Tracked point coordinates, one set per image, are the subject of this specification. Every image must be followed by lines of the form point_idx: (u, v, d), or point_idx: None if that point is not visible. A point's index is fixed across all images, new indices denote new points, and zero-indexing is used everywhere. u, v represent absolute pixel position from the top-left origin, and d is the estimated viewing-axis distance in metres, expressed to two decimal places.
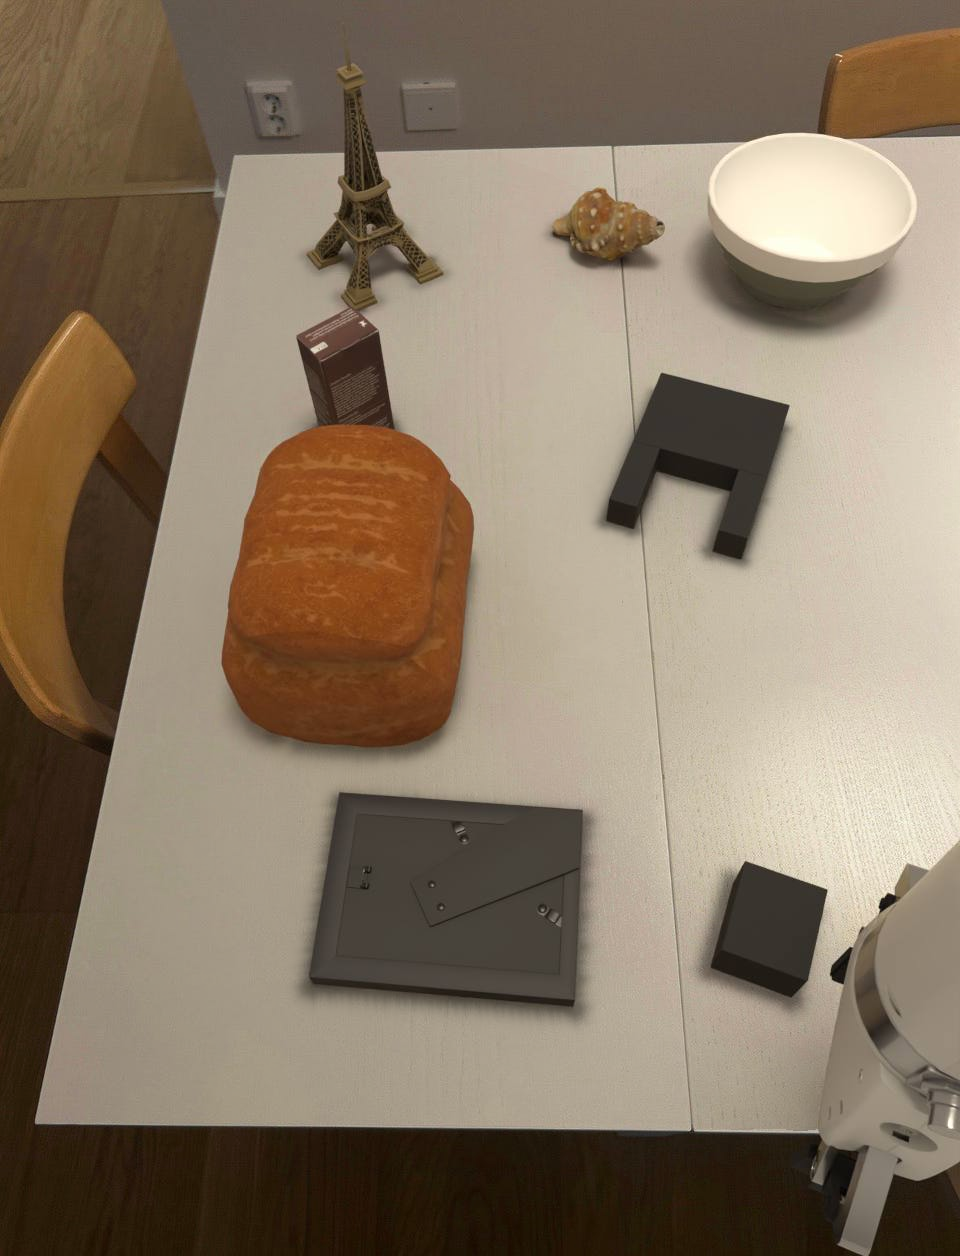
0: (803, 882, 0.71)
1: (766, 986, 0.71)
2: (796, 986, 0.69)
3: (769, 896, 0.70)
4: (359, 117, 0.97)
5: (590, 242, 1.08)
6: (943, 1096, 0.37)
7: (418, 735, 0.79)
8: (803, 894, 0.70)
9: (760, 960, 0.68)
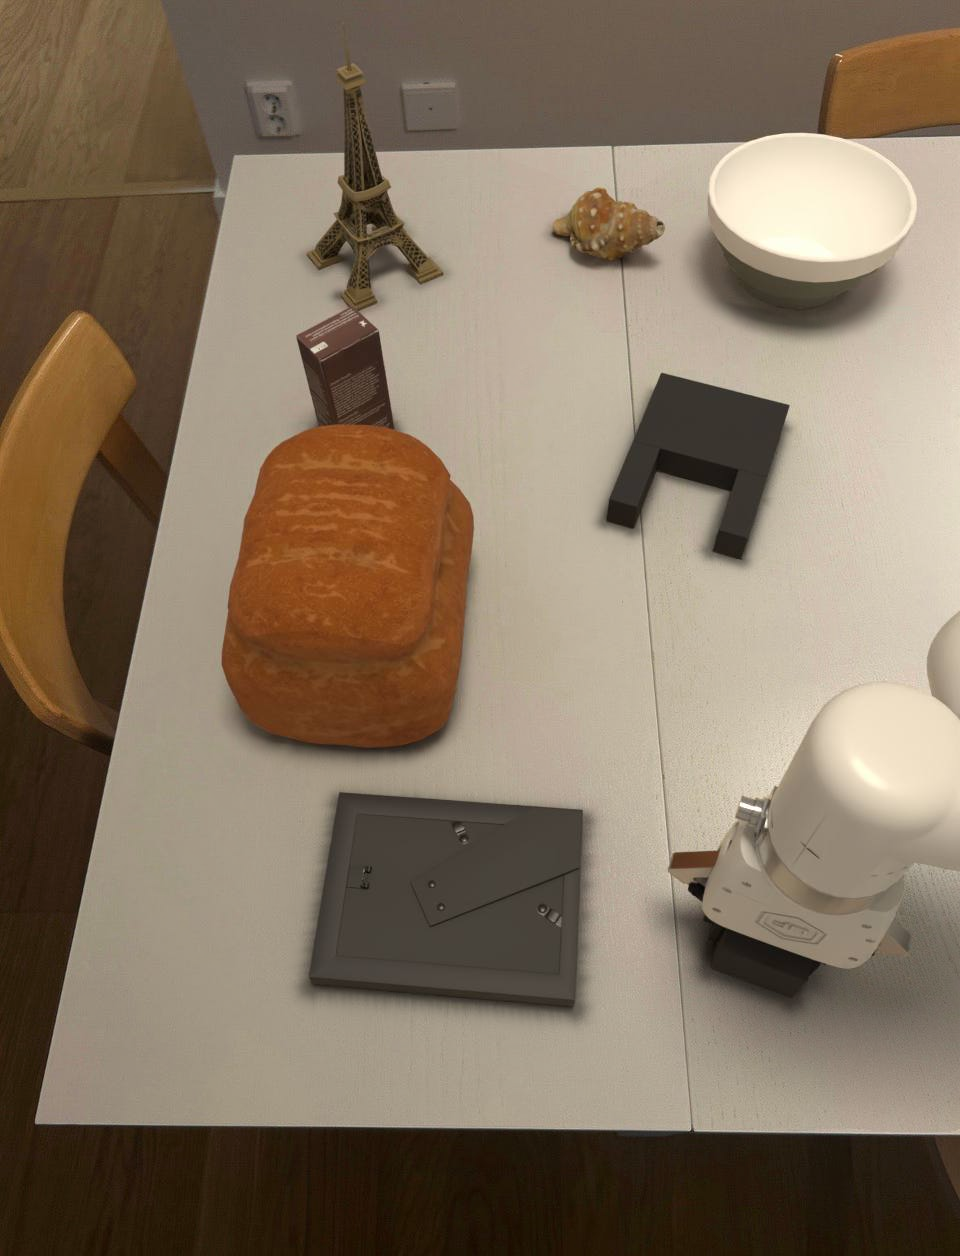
0: None
1: (766, 986, 0.71)
2: (796, 986, 0.69)
3: None
4: (359, 117, 0.97)
5: (590, 242, 1.08)
6: (760, 800, 0.58)
7: (418, 735, 0.79)
8: None
9: (760, 960, 0.68)
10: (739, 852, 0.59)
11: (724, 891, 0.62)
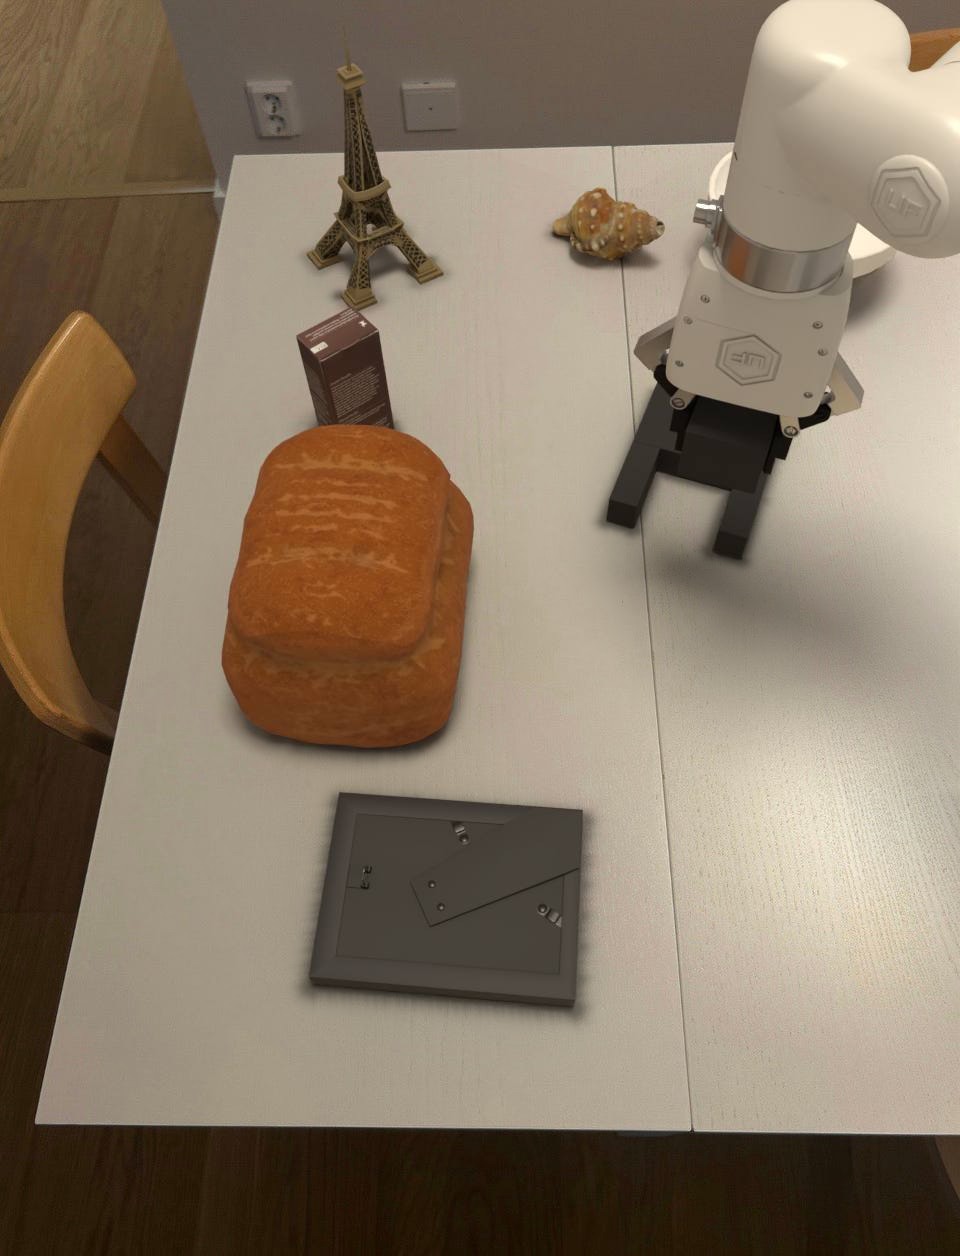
0: None
1: (729, 483, 0.74)
2: (757, 468, 0.72)
3: None
4: (359, 117, 0.97)
5: (590, 242, 1.08)
6: None
7: (418, 735, 0.79)
8: None
9: (722, 437, 0.71)
10: (697, 262, 0.63)
11: (685, 324, 0.65)
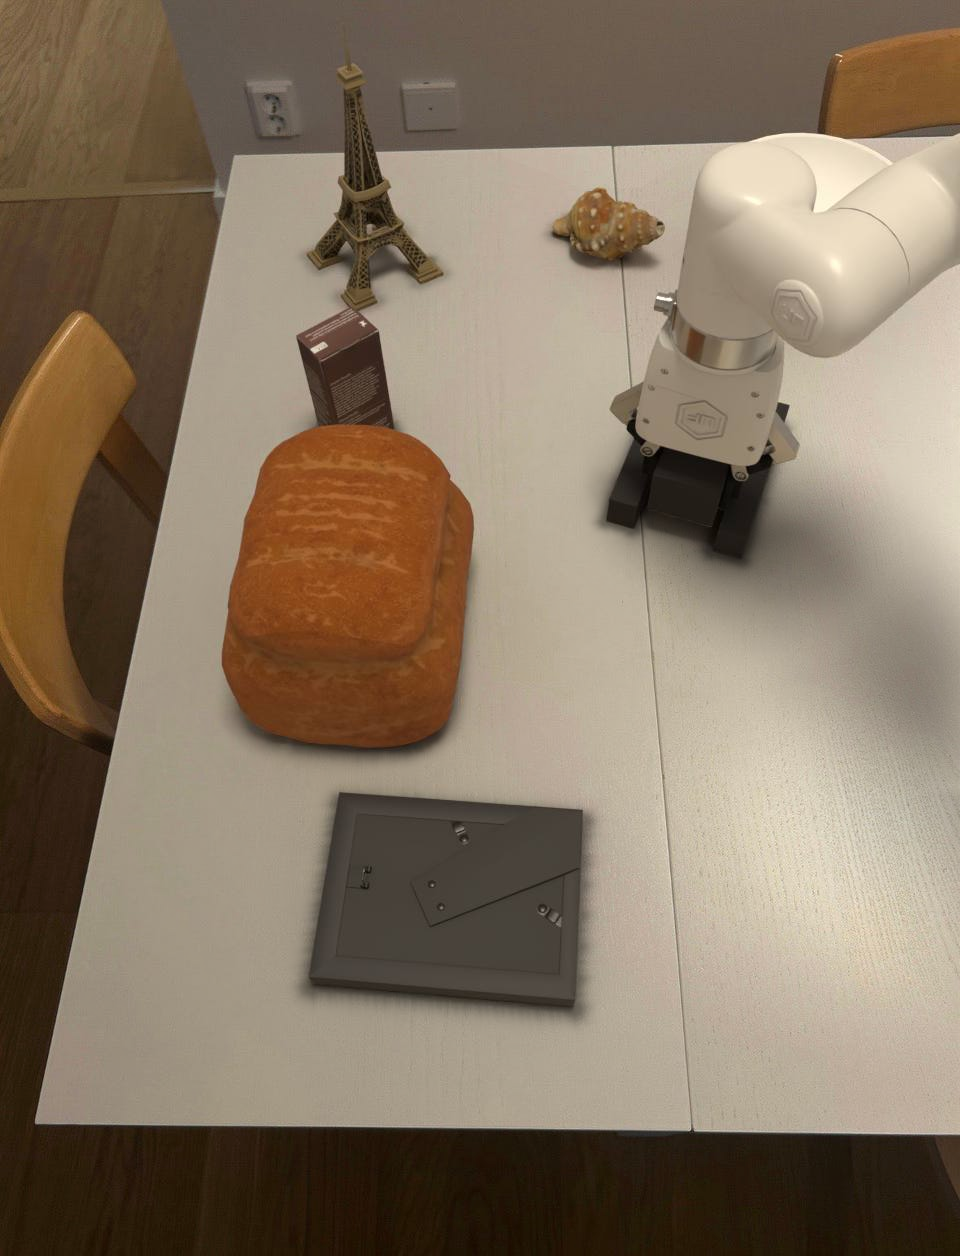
0: None
1: (691, 518, 0.89)
2: (712, 505, 0.86)
3: None
4: (359, 117, 0.97)
5: (590, 242, 1.08)
6: (672, 293, 0.76)
7: (418, 735, 0.79)
8: None
9: (683, 480, 0.86)
10: (658, 342, 0.77)
11: (649, 391, 0.80)
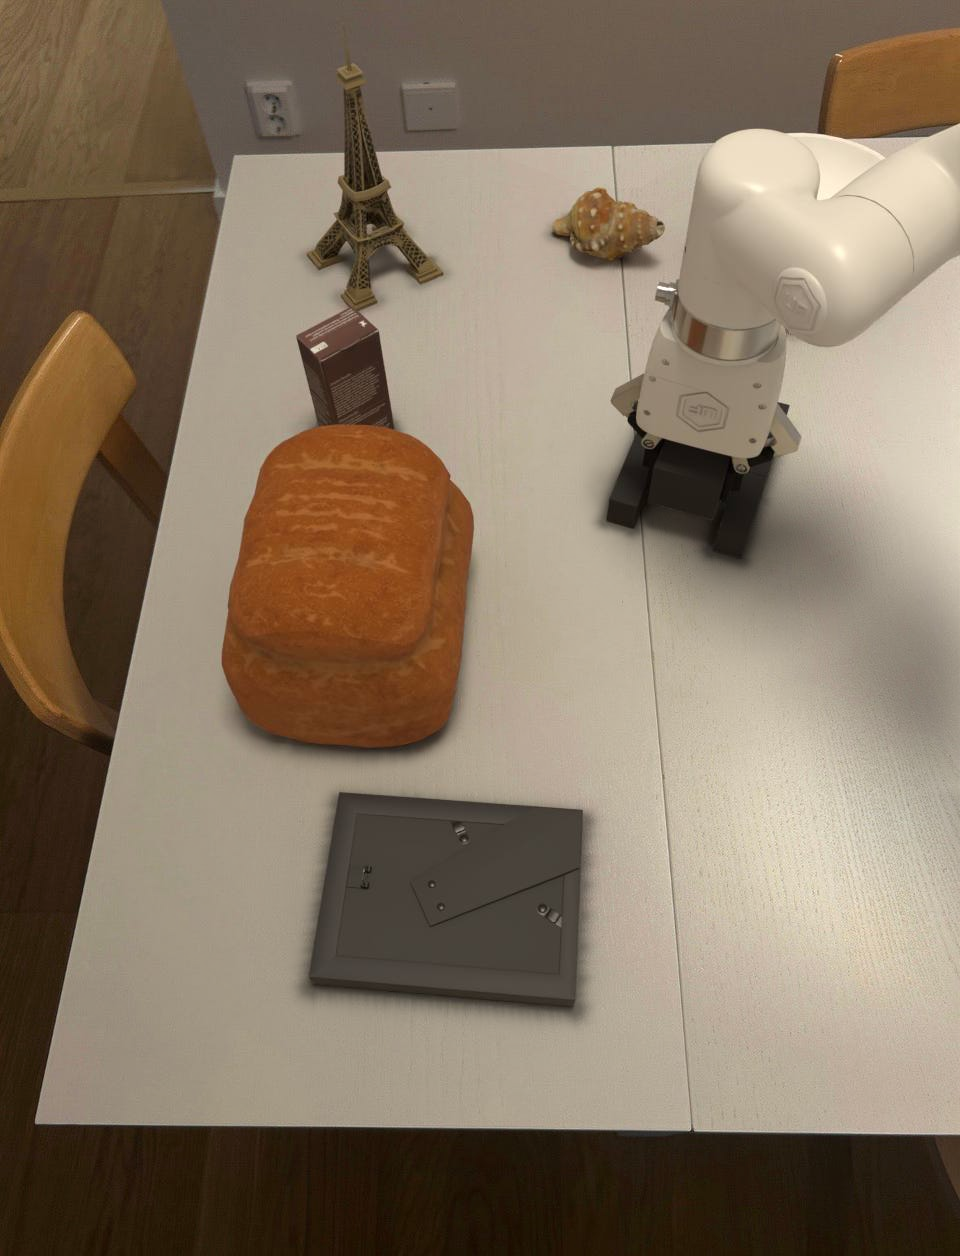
0: None
1: (691, 511, 0.88)
2: (713, 498, 0.86)
3: None
4: (359, 117, 0.97)
5: (590, 242, 1.08)
6: (673, 283, 0.75)
7: (418, 735, 0.79)
8: None
9: (684, 473, 0.85)
10: (659, 332, 0.76)
11: (650, 382, 0.79)
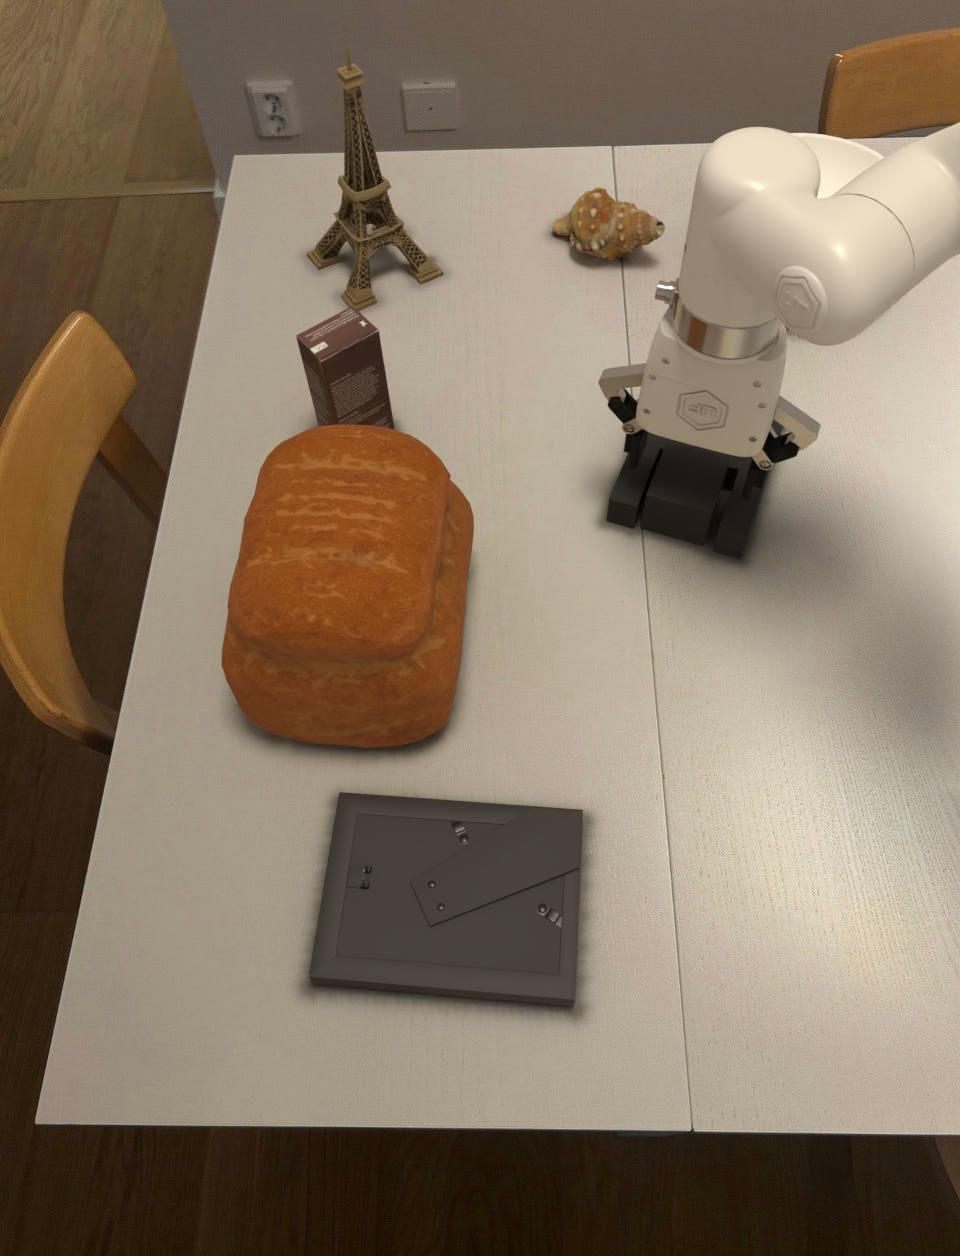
0: (711, 453, 0.91)
1: (683, 536, 0.91)
2: (704, 525, 0.89)
3: (684, 462, 0.90)
4: (359, 117, 0.97)
5: (590, 242, 1.08)
6: (673, 281, 0.75)
7: (418, 735, 0.79)
8: (710, 461, 0.90)
9: (676, 501, 0.88)
10: (659, 331, 0.76)
11: (650, 380, 0.79)
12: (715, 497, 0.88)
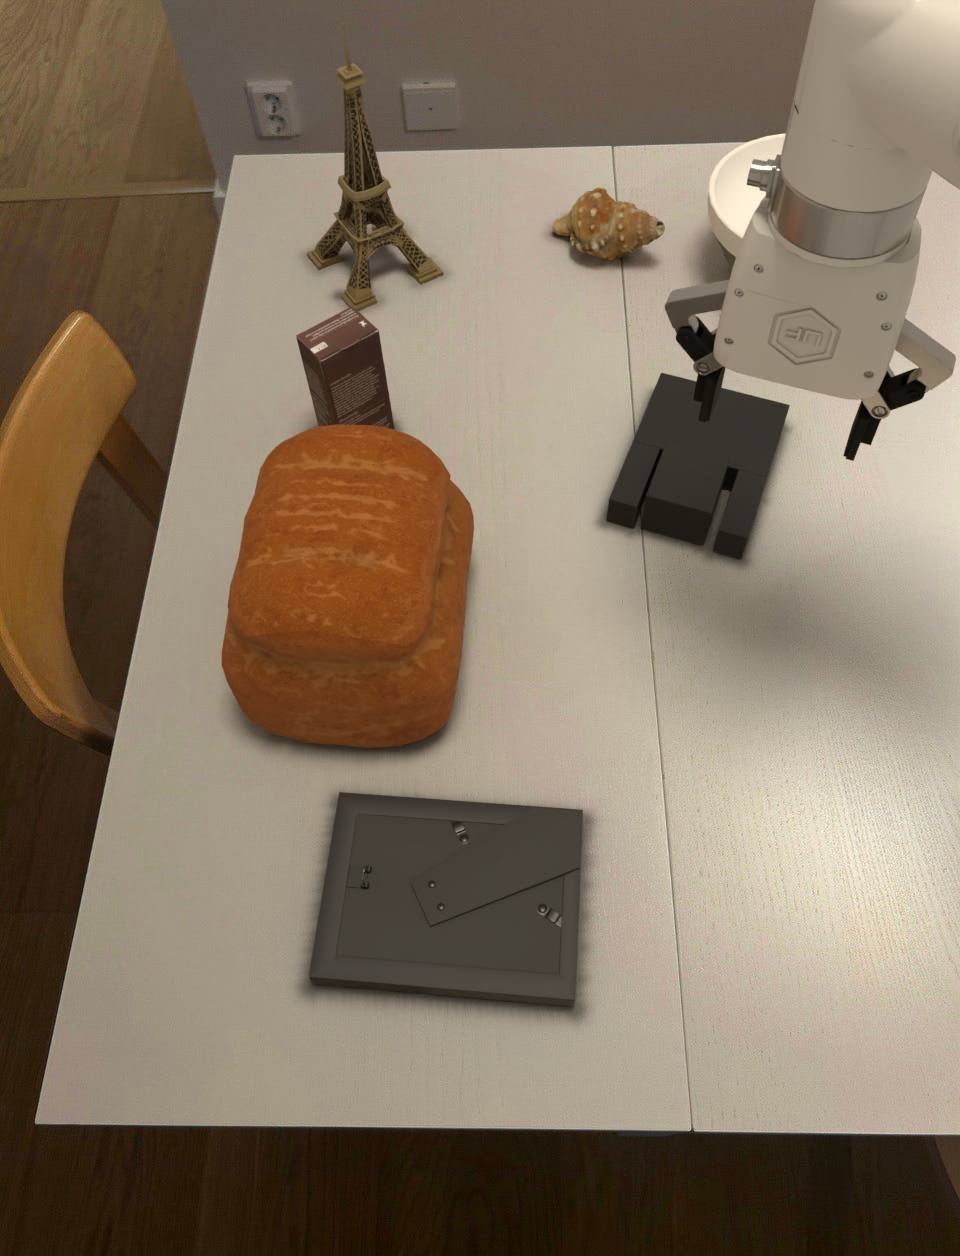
0: (711, 453, 0.91)
1: (683, 536, 0.91)
2: (704, 525, 0.89)
3: (684, 462, 0.90)
4: (359, 117, 0.97)
5: (590, 242, 1.08)
6: (772, 160, 0.57)
7: (418, 735, 0.79)
8: (710, 461, 0.90)
9: (676, 501, 0.88)
10: (751, 228, 0.58)
11: (736, 297, 0.61)
12: (715, 497, 0.88)
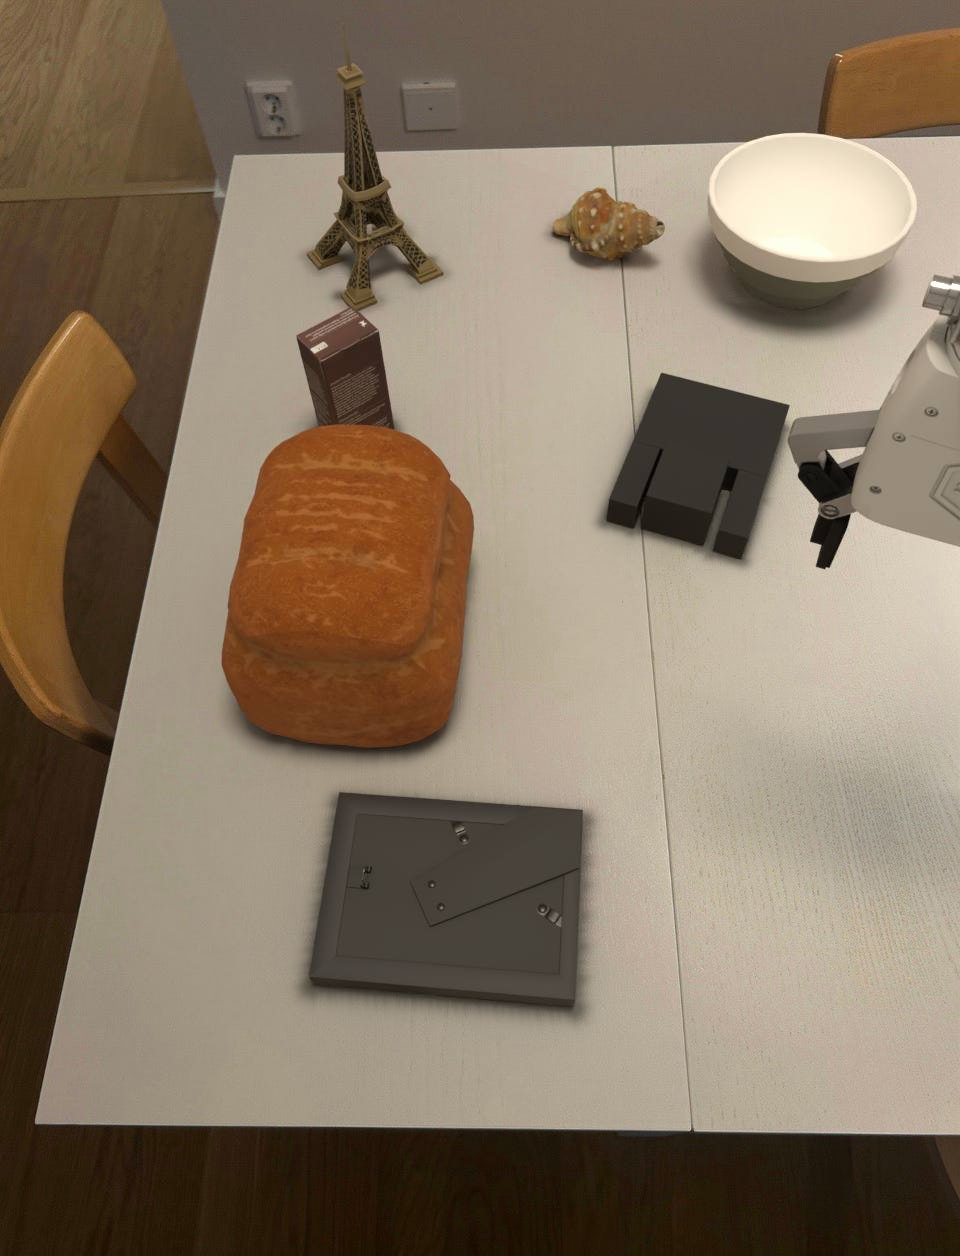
0: (711, 453, 0.91)
1: (683, 536, 0.91)
2: (704, 525, 0.89)
3: (684, 462, 0.90)
4: (359, 117, 0.97)
5: (590, 242, 1.08)
6: (958, 276, 0.43)
7: (418, 735, 0.79)
8: (710, 461, 0.90)
9: (676, 501, 0.88)
10: (925, 361, 0.44)
11: (894, 442, 0.47)
12: (715, 497, 0.88)
